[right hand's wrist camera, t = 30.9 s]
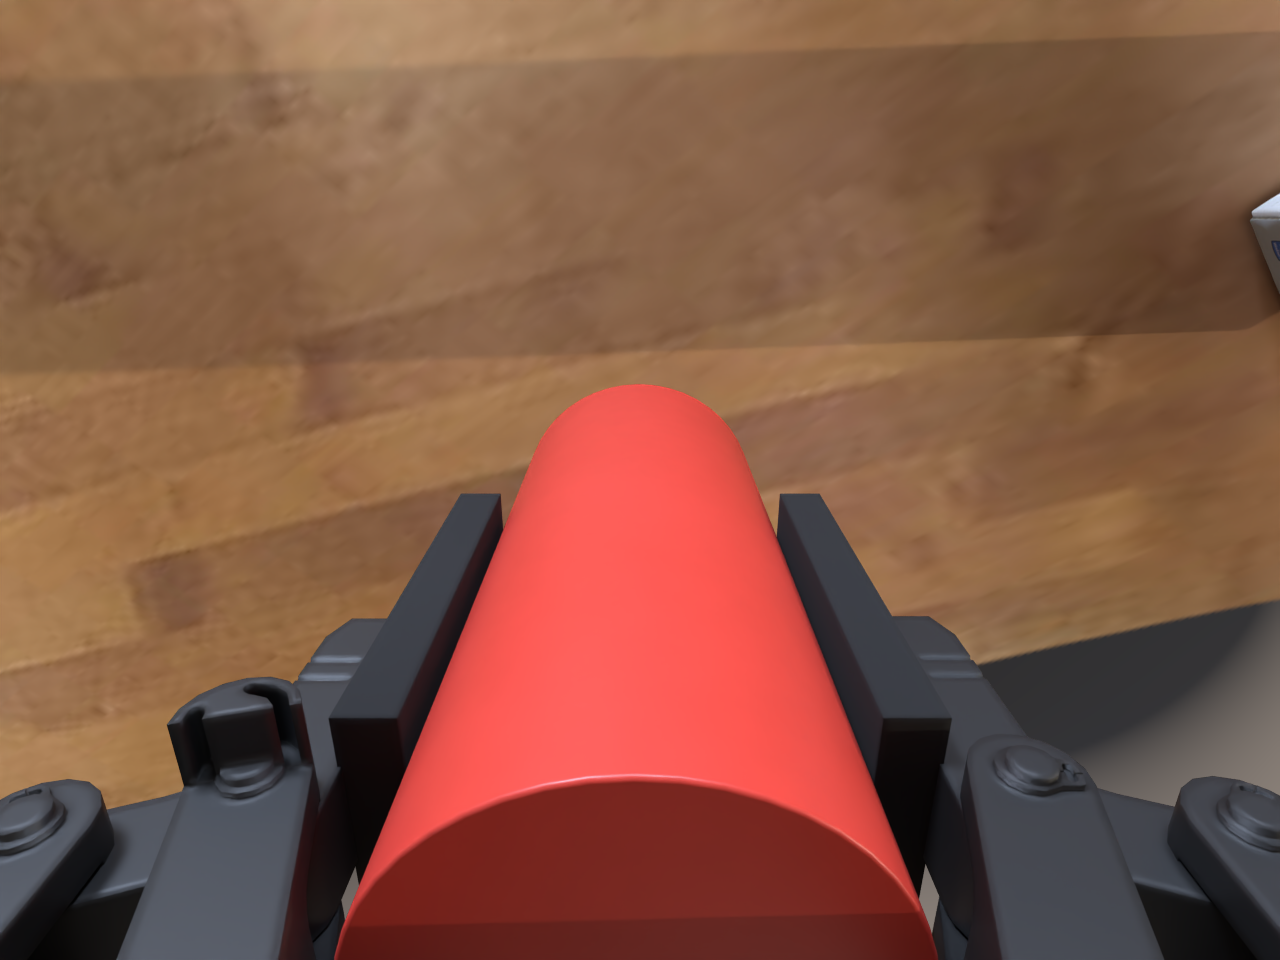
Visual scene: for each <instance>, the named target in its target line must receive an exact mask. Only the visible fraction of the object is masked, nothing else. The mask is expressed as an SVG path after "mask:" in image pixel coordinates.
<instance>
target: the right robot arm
mask: <svg viewBox="0 0 1280 960" xmlns="http://www.w3.org/2000/svg"><path fill="white" fill-rule="evenodd" d="M502 532H503V522H502V508H501V494H461V495H460V496H459V498H458V500H457V502H456V503H455V505H454V507H453V508H452V510H451V512H450V513H449V515H448V517H447V518H446V520H445V522H444V523H443V525H442V527H441V529H440V530H439V532H438V534H437V535H436V537H435V539H434V540H433V542H432V544H431V545H430V547H429V549H428V551H427V552H426V554H425V556H424V557H423V559H422V561H421V562H420V564H419V566H418V567H417V569H416V571H415V572H414V574H413V576H412V578H411V579H410V581H409V583H408V584H407V586H406V588H405V589H404V591H403V593H402V594H401V596H400V598H399V600H398V601H397V603H396V605H395V606H394V608H393V610H392V611H391V613H390V615H389V616H388V618H387V619H351V620H349V621H348V622H347V623H345V624H344V625H342V626H341V627H340V628H338V629H337V630H335V631H334V632H332V633H331V634H330V635H328V636H327V637H326V638H325V639H324V641H323V642H322V643H321V645H320V646H319V648H318V649H317V650H316V652H315V653H314V655H313V656H312V658H311V662H310V663H307V665H306V666H305V668H304V669H303V670H302V672H301V673H300V675H299V676H298V677H299V678H298V681H295V682H294V683H293V684H292V683H291V682H289V681H286V680H282V679H278V678H273V677H258V678H246V679H242V680H238V681H234V682H230V683H225V684H222V685H220V686H218V687H215V688H213V689H211V690H209V691H206V692H204V693H202V694H200V695H198V696H197V697H195V698H194V699H192V700H191V701H190V702H188V703H187V704H185V705H184V706H183V707H181V708H180V709H179V710H178V711H177V712H176V714H175V715H174V716H173V718H172V719H171V720H170V721H169V723H168V724H167V727H168V730H169V734H170V737H171V741H172V745H173V748H174V752H175V755H176V759H177V762H178V766H179V770H180V773H181V777H182V780H183V784H184V788H183V790H182V792H179V793H175V794H172V795H168V796H165V797H161V798H156V799H152V800H148V801H143V802H139V803H134V804H130V805H126V806H121V807H117V808H112V809H108V810H107V809H106V806H105V803H104V800H103V797H102V794H101V791H100V790H98V789H97V788H96V787H95V786H93V785H92V784H91V783H90V782H86V781H79V780H71V779H66V780H60V781H53V782H46V783H41V784H38V785H35V786H32V787H29V788H26V789H23V790H20V791H18V792H15V793H12V794H10V795H8V796H7V797H5V798H3V799H1V800H0V960H334V956H335V952H336V949H337V945H338V941H339V937H340V934H341V930H342V927H343V925H344V922H345V918H344V912H343V907H342V901H341V899H342V897H343V894H344V892H345V890H346V887H347V885H348V883H349V880H350V878H351V875H352V873H353V871H354V868H355V866H356V871H357V877H358V882H359V885H360V883H361V880H362V878H363V875H364V873H365V870H366V868H367V865H368V863H369V860H370V858H371V855H372V853H373V850H374V848H375V846H376V843H377V841H378V838H379V836H380V833H381V831H382V828H383V826H384V823H385V821H386V818H387V816H388V813H389V811H390V809H391V806H392V804H393V801H394V799H395V796H396V794H397V791H398V789H399V786H400V784H401V781H402V779H403V776H404V774H405V771H406V769H407V767H408V764H409V762H410V759H411V757H412V754H413V752H414V749H415V747H416V744H417V742H418V739H419V737H420V734H421V732H422V730H423V727H424V725H425V722H426V720H427V717H428V715H429V712H430V710H431V707H432V705H433V702H434V700H435V697H436V695H437V692H438V690H439V688H440V685H441V683H442V680H443V678H444V675H445V673H446V670H447V668H448V665H449V663H450V660H451V658H452V655H453V653H454V651H455V648H456V646H457V643H458V641H459V638H460V636H461V633H462V631H463V628H464V626H465V623H466V621H467V618H468V616H469V613H470V611H471V609H472V606H473V604H474V601H475V599H476V596H477V594H478V591H479V589H480V586H481V584H482V581H483V579H484V576H485V574H486V571H487V569H488V567H489V564H490V562H491V559H492V557H493V554H494V552H495V549H496V547H497V544H498V542H499V539H500V537H501V534H502ZM777 540H778V542H779V545H780V547H781V550H782V552H783V555H784V557H785V560H786V563H787V565H788V568H789V570H790V573H791V575H792V578H793V580H794V583H795V585H796V588H797V591H798V593H799V596H800V598H801V601H802V603H803V606H804V608H805V611H806V613H807V616H808V619H809V621H810V624H811V626H812V629H813V631H814V634H815V636H816V639H817V641H818V644H819V647H820V649H821V652H822V654H823V657H824V659H825V662H826V664H827V667H828V669H829V672H830V675H831V677H832V680H833V682H834V685H835V687H836V690H837V692H838V695H839V697H840V700H841V702H842V705H843V708H844V710H845V713H846V715H847V718H848V720H849V723H850V725H851V728H852V730H853V733H854V736H855V738H856V741H857V743H858V746H859V748H860V751H861V753H862V756H863V758H864V761H865V764H866V766H867V769H868V771H869V774H870V776H871V779H872V781H873V784H874V786H875V789H876V792H877V794H878V797H879V799H880V802H881V804H882V807H883V809H884V812H885V814H886V817H887V820H888V822H889V825H890V827H891V830H892V832H893V835H894V837H895V840H896V842H897V845H898V848H899V850H900V853H901V855H902V858H903V860H904V863H905V865H906V868H907V870H908V873H909V876H910V878H911V881H912V883H913V886H914V888H915V891H916V893H917V896H918V898H919V896H920V890H921V885H922V879H923V874H924V868H925V864H926V866H927V868H928V871H929V873H930V875H931V878H932V880H933V882H934V885H935V887H936V889H937V892H938V894H939V901H938V906H937V911H936V917H935V922H934V927H933V932H932V937H933V940H934V944H935V947H936V951H937V954H938V960H1280V796H1279V795H1277V794H1275V793H1274V792H1272V791H1270V790H1267V789H1264V788H1262V787H1259V786H1256V785H1253V784H1250V783H1247V782H1244V781H1241V780H1236V779H1229V778H1222V777H1215V776H1210V777H1203V778H1196V779H1192V780H1191V781H1189V782H1188V783H1187V784H1186V785H1184V786H1183V787H1182V788H1181V790H1180V793H1179V796H1178V799H1177V802H1176V805H1175V807H1173V806H1169V805H1164V804H1160V803H1155V802H1151V801H1146V800H1142V799H1138V798H1133V797H1129V796H1124V795H1120V794H1116V793H1112V792H1109V791H1106V790H1102V789H1099V788H1097V786H1096V784H1095V783H1094V781H1093V780H1092V778H1091V777H1090V775H1089V774H1088V772H1087V771H1086V769H1085V768H1084V767H1083V766H1081V765H1080V764H1079V763H1078V762H1076V761H1075V760H1074V759H1073V758H1072V757H1070V756H1069V755H1068V754H1067V753H1065V752H1063V751H1061V750H1059V749H1057V748H1055V747H1053V746H1051V745H1049V744H1047V743H1045V742H1043V741H1039V740H1036V739H1032V738H1029V737H1027V736H1026V734H1025V733H1024V731H1023V730H1022V729H1021V727H1020V726H1019V724H1018V723H1017V721H1016V720H1015V719H1014V717H1013V716H1012V714H1011V713H1010V712H1009V710H1008V709H1007V707H1006V706H1005V705H1004V703H1003V702H1002V700H1001V699H1000V697H999V696H998V695H997V693H996V692H995V690H994V689H993V688H992V686H991V685H990V683H989V682H988V681H987V679H986V678H983V676H982V675H983V674H982V672H981V671H980V669H979V668H978V666H977V665H976V664H975V662H974V661H973V660H970V655H969V654H968V652H967V651H966V650H965V648H964V647H963V645H962V644H961V643H960V641H959V640H958V638H957V637H956V635H955V634H953V633H952V632H950V631H949V630H948V629H946V628H945V627H943V626H942V625H940V624H939V623H937V622H936V621H935V620H933V619H932V618H930V617H929V616H891V614H890V612H889V610H888V609H887V607H886V605H885V604H884V602H883V600H882V599H881V597H880V595H879V594H878V592H877V590H876V589H875V587H874V585H873V583H872V582H871V580H870V578H869V577H868V575H867V573H866V572H865V570H864V568H863V567H862V565H861V563H860V562H859V560H858V558H857V556H856V555H855V553H854V551H853V550H852V548H851V546H850V545H849V543H848V541H847V540H846V538H845V536H844V534H843V533H842V531H841V529H840V528H839V526H838V524H837V523H836V521H835V519H834V518H833V516H832V514H831V513H830V511H829V509H828V507H827V506H826V504H825V502H824V501H823V499H822V497H821V496H820V494H780V501H779V515H778V529H777Z"/></svg>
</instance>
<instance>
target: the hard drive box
mask: <svg viewBox="0 0 1280 960" xmlns="http://www.w3.org/2000/svg"><path fill="white" fill-rule="evenodd" d="M1252 215H1253V218H1252V219H1251V220H1250V223H1251V225H1252V227H1253V230H1254V233H1255V235H1256V238H1257V240H1258V243H1259V245H1260V247H1261V250H1262V252H1263V255H1264V258H1265V260H1266V262H1267V265H1268V267H1269V270H1270V272H1271V275H1272V277H1273V279H1274V282H1275V284H1276V287H1277V289H1278V291H1279V294H1280V194H1278V195H1276V196H1275V197H1273V198H1272V199H1270V200H1268V201H1267V202H1265V203H1264V204H1262V205H1261V206H1259V207H1257V208H1256V209H1254V210H1253V211H1252Z"/></svg>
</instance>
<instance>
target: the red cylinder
mask: <svg viewBox="0 0 1280 960" xmlns="http://www.w3.org/2000/svg"><path fill="white" fill-rule="evenodd" d="M334 960H938V954H937V951H936V947H935V944H934V940H933V937H932V933H931V930H930V927H929V924H928V921H927V919H926V916H925V914H924V911H923V909H922V906H921V904H920V901H919V898H918V896H917V893H916V891H915V888H914V886H913V883H912V881H911V878H910V876H909V873H908V870H907V868H906V865H905V863H904V860H903V858H902V855H901V853H900V850H899V848H898V845H897V842H896V840H895V837H894V835H893V832H892V830H891V827H890V825H889V822H888V820H887V817H886V814H885V812H884V809H883V807H882V804H881V802H880V799H879V797H878V794H877V792H876V789H875V786H874V784H873V781H872V779H871V776H870V774H869V771H868V769H867V766H866V764H865V761H864V758H863V756H862V753H861V751H860V748H859V746H858V743H857V741H856V738H855V736H854V733H853V730H852V728H851V725H850V723H849V720H848V718H847V715H846V713H845V710H844V708H843V705H842V702H841V700H840V697H839V695H838V692H837V690H836V687H835V685H834V682H833V680H832V677H831V675H830V672H829V669H828V667H827V664H826V662H825V659H824V657H823V654H822V652H821V649H820V647H819V644H818V641H817V639H816V636H815V634H814V631H813V629H812V626H811V624H810V621H809V619H808V616H807V613H806V611H805V608H804V606H803V603H802V601H801V598H800V596H799V593H798V591H797V588H796V585H795V583H794V580H793V578H792V575H791V573H790V570H789V568H788V565H787V563H786V560H785V557H784V555H783V552H782V550H781V547H780V545H779V542H778V540H777V537H776V535H775V532H774V529H773V527H772V524H771V522H770V519H769V517H768V514H767V512H766V509H765V507H764V504H763V501H762V499H761V496H760V494H759V491H758V489H757V486H756V484H755V481H754V479H753V476H752V473H751V471H750V468H749V466H748V463H747V461H746V458H745V456H744V453H743V451H742V449H741V447H740V445H739V442H738V440H737V439H736V437H735V436H734V434H733V432H732V431H731V429H730V428H729V427H728V426H727V424H726V423H725V422H724V421H723V420H722V419H721V418H720V417H719V416H718V415H717V414H716V413H715V412H714V411H712V410H711V409H710V408H709V407H707V406H706V405H704V404H703V403H701V402H700V401H698V400H697V399H695V398H693V397H691V396H689V395H686V394H684V393H682V392H679V391H676V390H673V389H670V388H665V387H660V386H655V385H641V384H636V385H623V386H618V387H613V388H608V389H605V390H602V391H599V392H596V393H593V394H591V395H589V396H587V397H585V398H583V399H581V400H579V401H578V402H576V403H575V404H573V405H572V406H570V407H569V408H568V409H567V410H565V411H564V412H563V413H562V414H561V415H560V416H559V417H557V419H556V420H555V421H554V422H553V423H552V424H551V426H550V427H549V428H548V429H547V431H546V432H545V434H544V435H543V437H542V439H541V440H540V442H539V444H538V446H537V449H536V451H535V453H534V455H533V458H532V460H531V463H530V465H529V468H528V470H527V473H526V475H525V478H524V480H523V483H522V485H521V488H520V490H519V492H518V495H517V497H516V500H515V502H514V505H513V507H512V510H511V512H510V515H509V517H508V520H507V522H506V525H505V527H504V530H503V532H502V534H501V537H500V539H499V542H498V544H497V547H496V549H495V552H494V554H493V557H492V559H491V562H490V564H489V567H488V569H487V571H486V574H485V576H484V579H483V581H482V584H481V586H480V589H479V591H478V594H477V596H476V599H475V601H474V604H473V606H472V609H471V611H470V613H469V616H468V618H467V621H466V623H465V626H464V628H463V631H462V633H461V636H460V638H459V641H458V643H457V646H456V648H455V651H454V653H453V655H452V658H451V660H450V663H449V665H448V668H447V670H446V673H445V675H444V678H443V680H442V683H441V685H440V688H439V690H438V692H437V695H436V697H435V700H434V702H433V705H432V707H431V710H430V712H429V715H428V717H427V720H426V722H425V725H424V727H423V730H422V732H421V734H420V737H419V739H418V742H417V744H416V747H415V749H414V752H413V754H412V757H411V759H410V762H409V764H408V767H407V769H406V771H405V774H404V776H403V779H402V781H401V784H400V786H399V789H398V791H397V794H396V796H395V799H394V801H393V804H392V806H391V809H390V811H389V813H388V816H387V818H386V821H385V823H384V826H383V828H382V831H381V833H380V836H379V838H378V841H377V843H376V846H375V848H374V850H373V853H372V855H371V858H370V860H369V863H368V865H367V868H366V870H365V873H364V875H363V878H362V880H361V883H360V885H359V888H358V890H357V892H356V895H355V897H354V900H353V902H352V905H351V907H350V910H349V912H348V915H347V917H346V920H345V922H344V925H343V927H342V930H341V934H340V937H339V941H338V945H337V949H336V952H335V956H334Z"/></svg>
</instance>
